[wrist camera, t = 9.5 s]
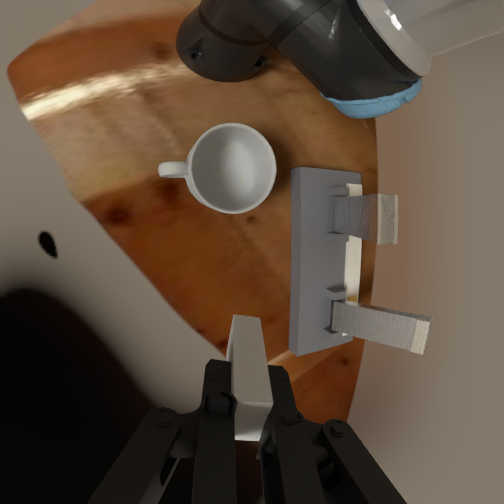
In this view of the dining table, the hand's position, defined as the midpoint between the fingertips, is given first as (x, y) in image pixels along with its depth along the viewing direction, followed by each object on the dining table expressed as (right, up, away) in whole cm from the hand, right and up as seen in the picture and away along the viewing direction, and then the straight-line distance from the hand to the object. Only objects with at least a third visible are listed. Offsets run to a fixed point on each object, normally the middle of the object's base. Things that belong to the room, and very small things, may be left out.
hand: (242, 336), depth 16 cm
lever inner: (+14, +11, +26) cm, 31 cm away
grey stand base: (+12, +3, +31) cm, 34 cm away
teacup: (-6, +16, +22) cm, 28 cm away
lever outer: (+14, -5, +28) cm, 32 cm away
